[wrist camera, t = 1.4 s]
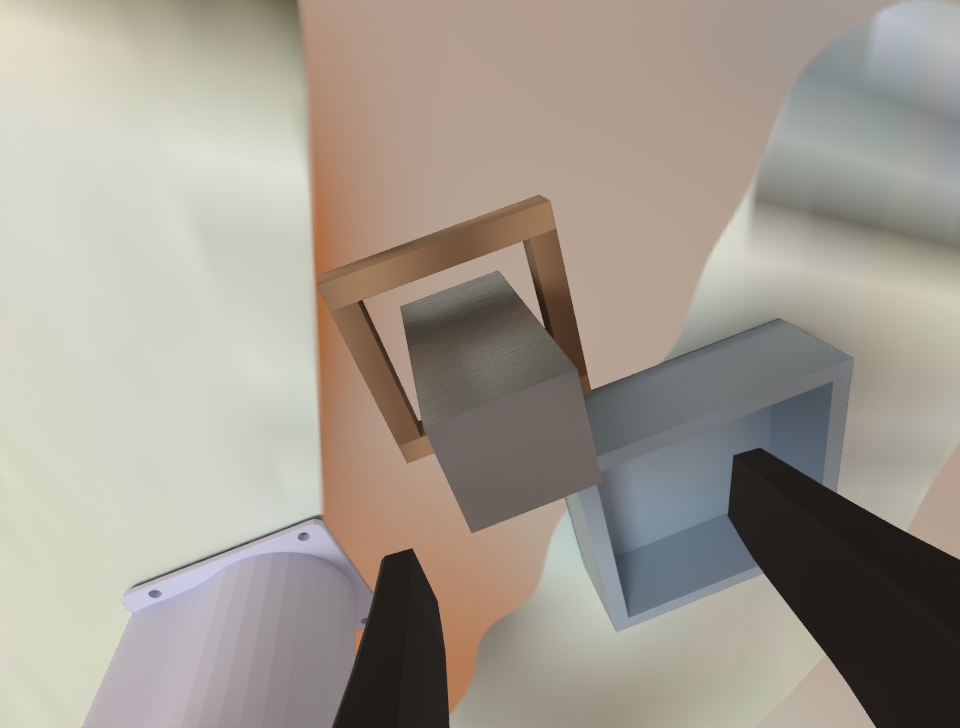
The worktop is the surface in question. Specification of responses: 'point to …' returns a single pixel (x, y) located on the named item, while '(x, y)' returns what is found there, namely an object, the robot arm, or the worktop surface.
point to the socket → (430, 257)
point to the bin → (699, 462)
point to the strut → (498, 401)
